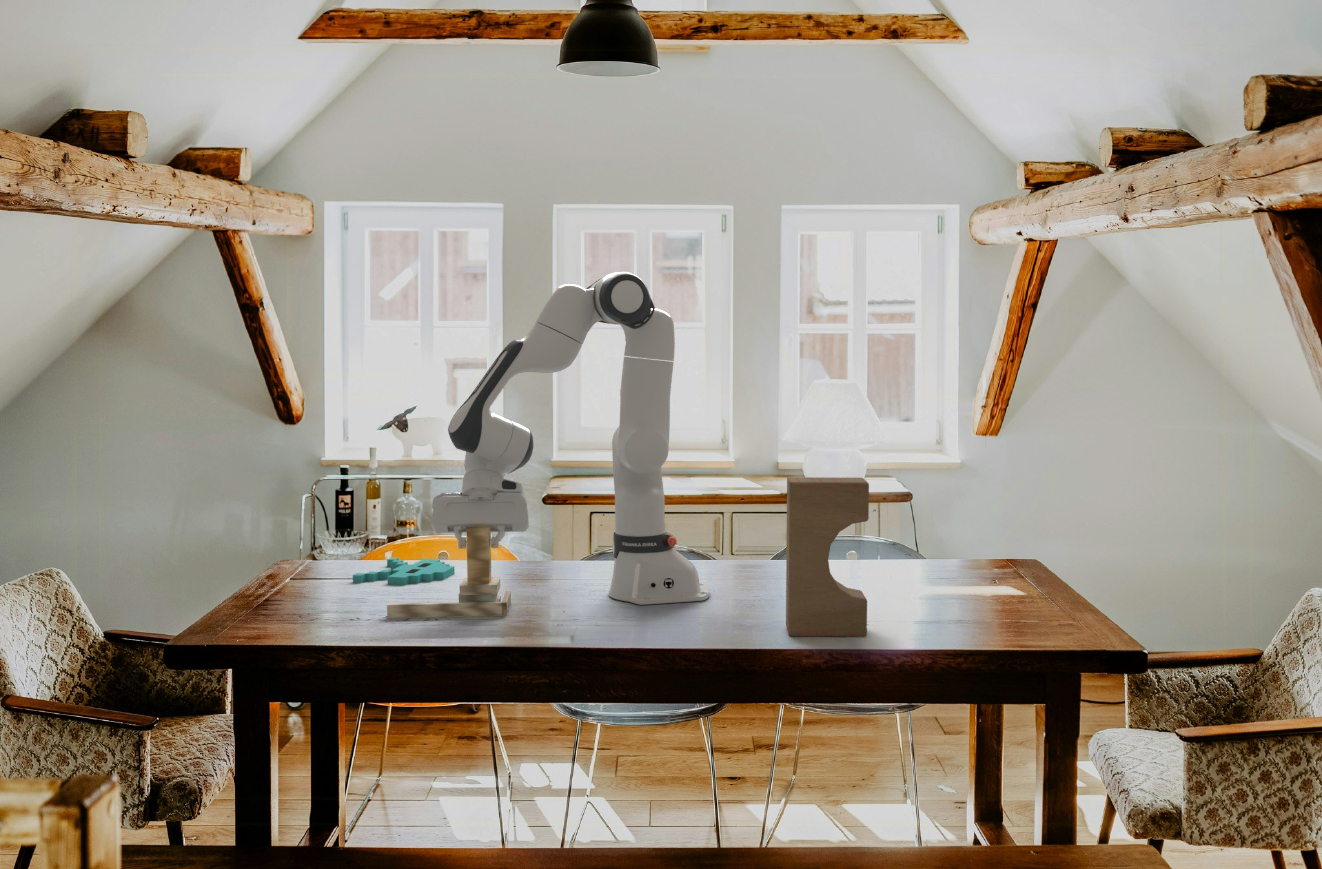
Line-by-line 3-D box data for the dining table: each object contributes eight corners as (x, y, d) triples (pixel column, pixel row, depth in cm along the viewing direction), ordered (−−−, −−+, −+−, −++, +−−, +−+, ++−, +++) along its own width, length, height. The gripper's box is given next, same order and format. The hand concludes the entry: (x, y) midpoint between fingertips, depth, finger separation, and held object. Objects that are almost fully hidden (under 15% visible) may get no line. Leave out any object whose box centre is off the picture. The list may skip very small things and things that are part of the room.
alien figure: (352, 584, 247) (431, 588, 243) (352, 575, 247) (431, 578, 243) (391, 566, 266) (464, 569, 262) (391, 557, 266) (464, 560, 262)
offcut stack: (500, 605, 221) (500, 577, 220) (497, 613, 214) (497, 584, 213) (462, 605, 220) (462, 577, 220) (458, 614, 213) (457, 585, 213)
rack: (510, 608, 222) (510, 591, 222) (506, 621, 212) (506, 602, 212) (396, 610, 221) (396, 593, 221) (387, 623, 211) (386, 605, 211)
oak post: (491, 578, 219) (490, 526, 218) (489, 583, 214) (488, 530, 213) (470, 579, 218) (469, 527, 217) (467, 584, 214) (466, 531, 213)
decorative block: (861, 626, 208) (863, 477, 205) (867, 637, 200) (869, 482, 197) (785, 626, 208) (786, 477, 206) (788, 636, 201) (789, 482, 198)
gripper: (431, 484, 221) (425, 539, 212) (528, 483, 222) (526, 537, 213) (435, 502, 226) (429, 556, 217) (530, 501, 227) (528, 554, 218)
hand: (478, 546), depth 215 cm, fingers open, 5 cm apart
